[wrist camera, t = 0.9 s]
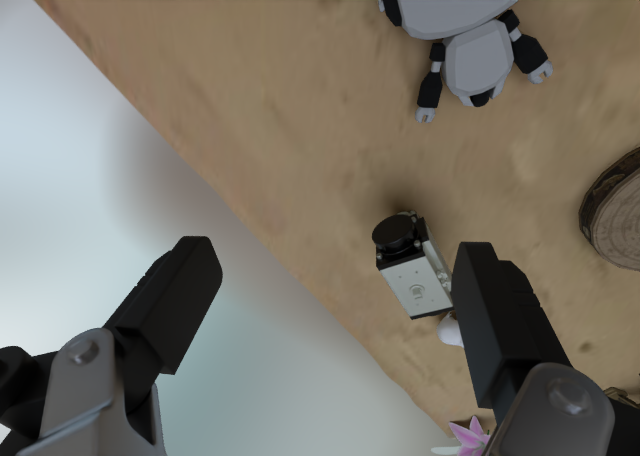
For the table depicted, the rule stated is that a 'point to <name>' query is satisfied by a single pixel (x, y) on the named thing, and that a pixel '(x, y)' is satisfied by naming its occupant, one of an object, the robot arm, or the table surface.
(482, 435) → the lily
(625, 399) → the eiffel tower
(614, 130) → the table surface
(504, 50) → the robot toy
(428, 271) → the pneumatic valve
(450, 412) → the table surface
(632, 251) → the wood log slice
